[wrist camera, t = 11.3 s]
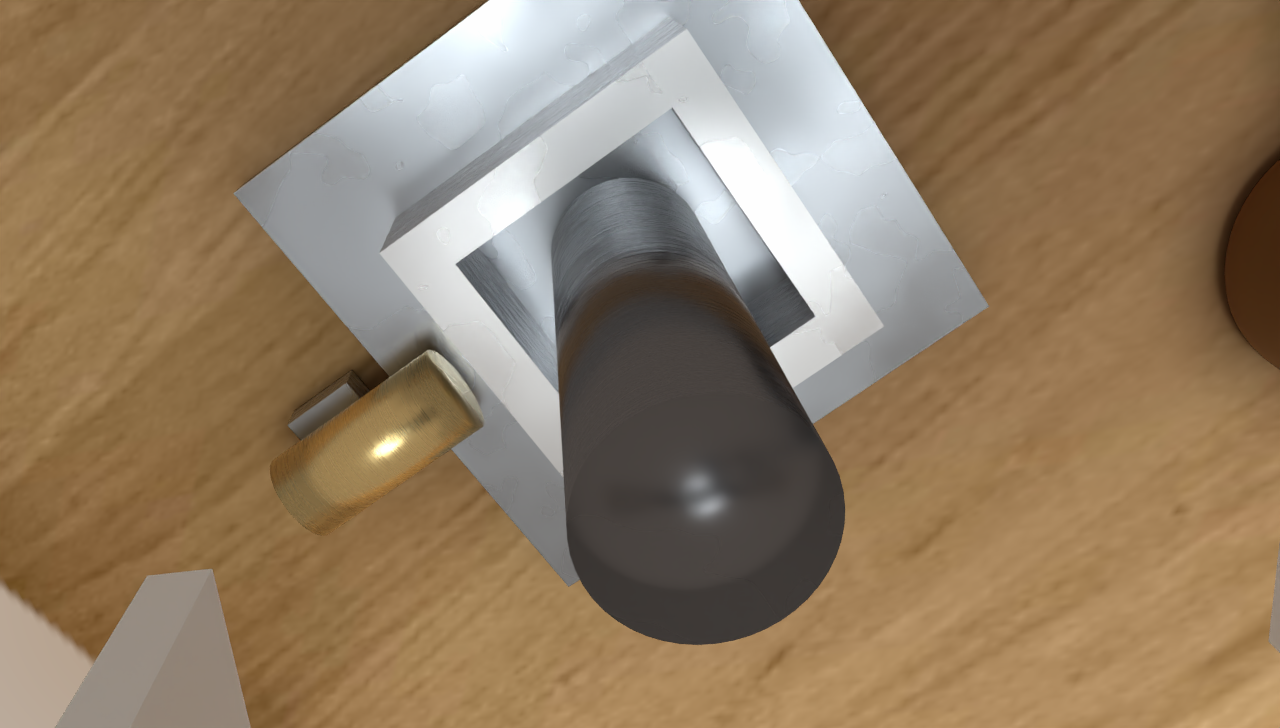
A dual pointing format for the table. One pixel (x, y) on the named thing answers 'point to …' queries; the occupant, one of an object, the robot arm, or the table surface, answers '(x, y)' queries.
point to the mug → (1257, 267)
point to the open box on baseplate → (534, 203)
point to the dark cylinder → (679, 429)
